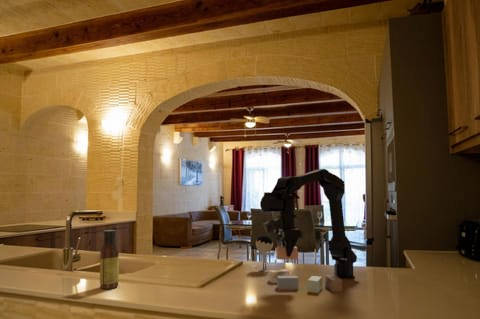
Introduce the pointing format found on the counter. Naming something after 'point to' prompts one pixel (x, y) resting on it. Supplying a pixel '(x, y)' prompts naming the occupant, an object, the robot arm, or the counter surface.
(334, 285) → the walnut block
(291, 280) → the slate block
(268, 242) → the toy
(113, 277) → the sauce bottle
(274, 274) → the birch block
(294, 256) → the terracotta block
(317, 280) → the sage block
